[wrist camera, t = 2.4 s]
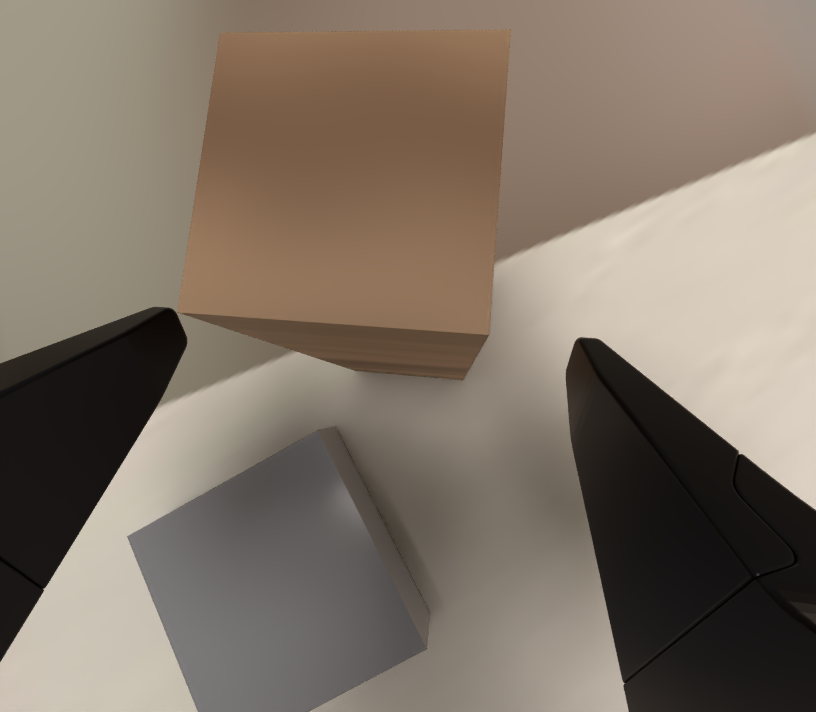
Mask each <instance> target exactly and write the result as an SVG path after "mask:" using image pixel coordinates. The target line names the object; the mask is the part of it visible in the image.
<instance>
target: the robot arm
mask: <svg viewBox="0 0 816 712" xmlns="http://www.w3.org/2000/svg"><path fill="white" fill-rule="evenodd" d="M186 346H187V336H186V334H185V331H184V329H183V327H182V325H181V322H180V320H179V318H178V315H177V313H176V312H175V311H174V310H173V309H171V308H164V307H152V308H149V309H146V310H143V311H141V312H138V313H135V314H133V315H130V316H127V317H125V318H122V319H119V320H117V321H114V322H111V323H108V324H106V325H103V326H100V327H97V328H95V329H92V330H89V331H87V332H84V333H81V334H79V335H76V336H73V337H70V338H68V339H65V340H62V341H60V342H57V343H54V344H52V345H49V346H46V347H44V348H41V349H38V350H35V351H33V352H30V353H27V354H24V355H22V356H19V357H17V358H14V359H11V360H9V361H6V362H3V363H0V662H1V660H2V658H3V657H4V655H5V654H6V652H7V650H8V649H9V647H10V645H11V644H12V642H13V641H14V639H15V637H16V636H17V634H18V632H19V631H20V629H21V628H22V626H23V624H24V623H25V621H26V619H27V618H28V616H29V615H30V613H31V611H32V610H33V608H34V606H35V605H36V603H37V601H38V600H39V598H40V597H41V595H42V593H43V592H44V588H45V587H46V586H47V585H48V583H49V581H50V580H51V578H52V576H53V575H54V573H55V572H56V570H57V568H58V567H59V565H60V563H61V562H62V560H63V559H64V557H65V555H66V554H67V552H68V550H69V549H70V547H71V546H72V544H73V542H74V541H75V539H76V537H77V536H78V534H79V533H80V531H81V529H82V528H83V526H84V524H85V523H86V521H87V520H88V518H89V516H90V515H91V513H92V511H93V510H94V508H95V506H96V505H97V503H98V502H99V500H100V498H101V497H102V495H103V493H104V492H105V490H106V489H107V487H108V485H109V484H110V482H111V480H112V479H113V477H114V476H115V474H116V472H117V471H118V469H119V467H120V466H121V464H122V463H123V461H124V459H125V458H126V456H127V454H128V453H129V451H130V450H131V448H132V446H133V445H134V443H135V441H136V440H137V438H138V437H139V435H140V433H141V432H142V430H143V428H144V427H145V425H146V424H147V422H148V420H149V419H150V417H151V415H152V414H153V412H154V411H155V409H156V407H157V406H158V404H159V402H160V400H161V398H162V397H163V394H164V393H165V391H166V389H167V387H168V384H169V382H170V380H171V378H172V376H173V374H174V372H175V370H176V368H177V365H178V363H179V361H180V359H181V357H182V355H183V353H184V351H185V349H186ZM566 387H567V399H568V412H569V424H570V435H571V442H572V448H573V453H574V458H575V462H576V467H577V471H578V476H579V481H580V485H581V490H582V495H583V499H584V504H585V509H586V513H587V518H588V522H589V527H590V532H591V536H592V541H593V546H594V550H595V555H596V560H597V564H598V569H599V573H600V578H601V583H602V587H603V592H604V597H605V601H606V606H607V611H608V615H609V620H610V624H611V629H612V634H613V638H614V643H615V648H616V652H617V657H618V662H619V666H620V671H621V675H622V680H623V682H624V683H625V684H624V691H625V695H626V700H627V705H628V709H629V712H816V510H815V509H813V508H812V507H811V506H809V505H808V504H807V503H805V502H804V501H802V500H801V499H800V498H798V497H797V496H796V495H794V494H793V493H792V492H790V491H789V490H788V489H786V488H785V487H784V486H783V485H781V484H780V483H779V482H777V481H776V480H775V479H774V478H772V477H771V476H770V475H768V474H767V473H766V472H765V471H763V470H762V469H761V468H759V467H758V466H757V465H756V464H754V463H753V462H752V461H751V460H750V459H748V458H747V457H746V456H745V455H743V454H739V451H738V450H737V449H736V448H734V447H733V446H732V445H731V444H729V443H728V442H727V441H726V440H724V439H723V438H722V437H721V436H719V435H718V434H717V433H716V432H714V431H713V430H712V429H711V428H709V427H708V426H707V425H706V424H704V423H703V422H702V421H701V420H699V419H698V418H697V417H696V416H694V415H693V414H692V413H691V412H689V411H688V410H687V409H686V408H684V407H683V406H682V405H681V404H679V403H678V402H677V401H676V400H674V399H673V398H672V397H671V396H669V395H668V394H667V393H666V392H664V391H663V390H662V389H661V388H659V387H658V386H657V385H656V384H655V383H653V382H652V381H651V380H650V379H648V378H647V377H646V376H645V375H643V374H642V373H641V372H640V371H638V370H637V369H636V368H635V367H633V366H632V365H631V364H630V363H628V362H627V361H626V360H625V359H623V358H622V357H621V356H620V355H618V354H617V353H616V352H615V351H613V350H612V349H611V348H610V347H608V346H607V345H606V344H605V343H603V342H602V341H601V340H599V339H597V338H583V337H580V338H578V339H577V340H576V341H575V343H574V346H573V349H572V353H571V356H570V359H569V362H568V365H567V369H566Z"/></svg>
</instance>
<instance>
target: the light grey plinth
mask: <svg viewBox="0 0 816 712" xmlns="http://www.w3.org/2000/svg"><path fill="white" fill-rule="evenodd" d="M127 537H128V540H129V542H130V545H131V547H132V550H133V552H134V555H135V557H136V560H137V562H138V565H139V567H140V570H141V572H142V575H143V577H144V579H145V582H146V584H147V587H148V589H149V592H150V594H151V597H152V599H153V602H154V604H155V607H156V609H157V612H158V614H159V617H160V619H161V622H162V624H163V626H164V629H165V631H166V634H167V636H168V639H169V641H170V644H171V646H172V649H173V651H174V654H175V656H176V659H177V661H178V664H179V666H180V669H181V671H182V674H183V676H184V678H185V681H186V683H187V686H188V688H189V691H190V693H191V696H192V698H193V701H194V703H195V706H196V708H197V711H198V712H309V711H310V710H312V709H314V708H316V707H318V706H320V705H322V704H324V703H326V702H327V701H329V700H331V699H333V698H335V697H337V696H339V695H341V694H343V693H344V692H346V691H348V690H350V689H352V688H354V687H356V686H358V685H360V684H361V683H363V682H365V681H367V680H369V679H371V678H373V677H375V676H377V675H378V674H380V673H382V672H384V671H386V670H388V669H390V668H392V667H394V666H395V665H397V664H399V663H401V662H403V661H405V660H407V659H409V658H411V657H412V656H414V655H416V654H418V653H420V652H422V651H424V650H426V649H427V642H428V631H429V621H430V613H429V611H428V609H427V607H426V605H425V603H424V601H423V599H422V597H421V595H420V593H419V591H418V589H417V587H416V585H415V583H414V581H413V579H412V577H411V575H410V573H409V571H408V569H407V567H406V565H405V563H404V561H403V559H402V557H401V555H400V553H399V551H398V549H397V547H396V546H395V544H394V542H393V540H392V538H391V536H390V534H389V532H388V530H387V528H386V526H385V524H384V522H383V520H382V518H381V516H380V514H379V512H378V510H377V508H376V506H375V504H374V502H373V500H372V498H371V496H370V494H369V492H368V490H367V488H366V486H365V484H364V482H363V480H362V478H361V477H360V475H359V473H358V471H357V469H356V467H355V465H354V463H353V461H352V459H351V457H350V455H349V453H348V451H347V449H346V447H345V445H344V443H343V441H342V439H341V437H340V435H339V433H338V431H337V429H336V427H331V428H326V429H322V430H317V431H316V432H314V433H312V434H310V435H308V436H307V437H305V438H303V439H301V440H299V441H298V442H296V443H294V444H292V445H290V446H289V447H287V448H285V449H283V450H281V451H280V452H278V453H276V454H274V455H273V456H271V457H269V458H267V459H265V460H264V461H262V462H260V463H258V464H256V465H255V466H253V467H251V468H249V469H247V470H246V471H244V472H242V473H240V474H238V475H237V476H235V477H233V478H231V479H229V480H228V481H226V482H224V483H222V484H221V485H219V486H217V487H215V488H213V489H212V490H210V491H208V492H206V493H204V494H203V495H201V496H199V497H197V498H195V499H194V500H192V501H190V502H188V503H186V504H185V505H183V506H181V507H179V508H177V509H176V510H174V511H172V512H170V513H168V514H167V515H165V516H163V517H161V518H160V519H158V520H156V521H154V522H152V523H151V524H149V525H147V526H145V527H143V528H142V529H140V530H138V531H136V532H134V533H133V534H131V535H129V536H127Z"/></svg>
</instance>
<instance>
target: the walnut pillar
mask: <svg viewBox="0 0 816 712" xmlns="http://www.w3.org/2000/svg"><path fill="white" fill-rule="evenodd" d="M510 34H511V30H436V31H435V30H428V31H344V32H343V31H340V32H339V31H334V32H253V33H252V32H245V33H244V32H242V33H220V36H219V42H218V49H217V55H216V62H215V69H214V76H213V82H212V88H211V95H210V101H209V108H208V115H207V121H206V128H205V134H204V141H203V148H202V154H201V161H200V168H199V174H198V180H197V187H196V194H195V200H194V206H193V213H192V220H191V226H190V233H189V240H188V246H187V252H186V259H185V266H184V273H183V279H182V285H181V292H180V298H179V305H178V313H181V314H184V315H187V316H190V317H193V318H196V319H199V320H202V321H205V322H208V323H211V324H214V325H218V326H220V327H224V328H227V329H230V330H233V331H236V332H239V333H242V334H245V335H248V336H251V337H254V338H257V339H260V340H263V341H266V342H269V343H272V344H276V345H279V346H282V347H284V348H288V349H291V350H294V351H297V352H300V353H303V354H306V355H309V356H312V357H315V358H318V359H321V360H324V361H327V362H330V363H333V364H336V365H339V366H342V367H345V368H349V369H352V370H355V371H364V372H376V373H388V374H399V375H411V376H423V377H435V378H446V379H458V380H463V379H464V377H465V376H466V374H467V372H468V370H469V369H470V367H471V365H472V364H473V362H474V360H475V358H476V357H477V355H478V353H479V351H480V350H481V348H482V346H483V345H484V343H485V341H486V339H487V338H488V336H489V328H490V314H491V300H492V286H493V272H494V258H495V244H496V243H495V242H496V230H497V216H498V202H499V201H498V200H499V188H500V174H501V160H502V146H503V132H504V118H505V103H506V90H507V76H508V62H509V48H510Z"/></svg>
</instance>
